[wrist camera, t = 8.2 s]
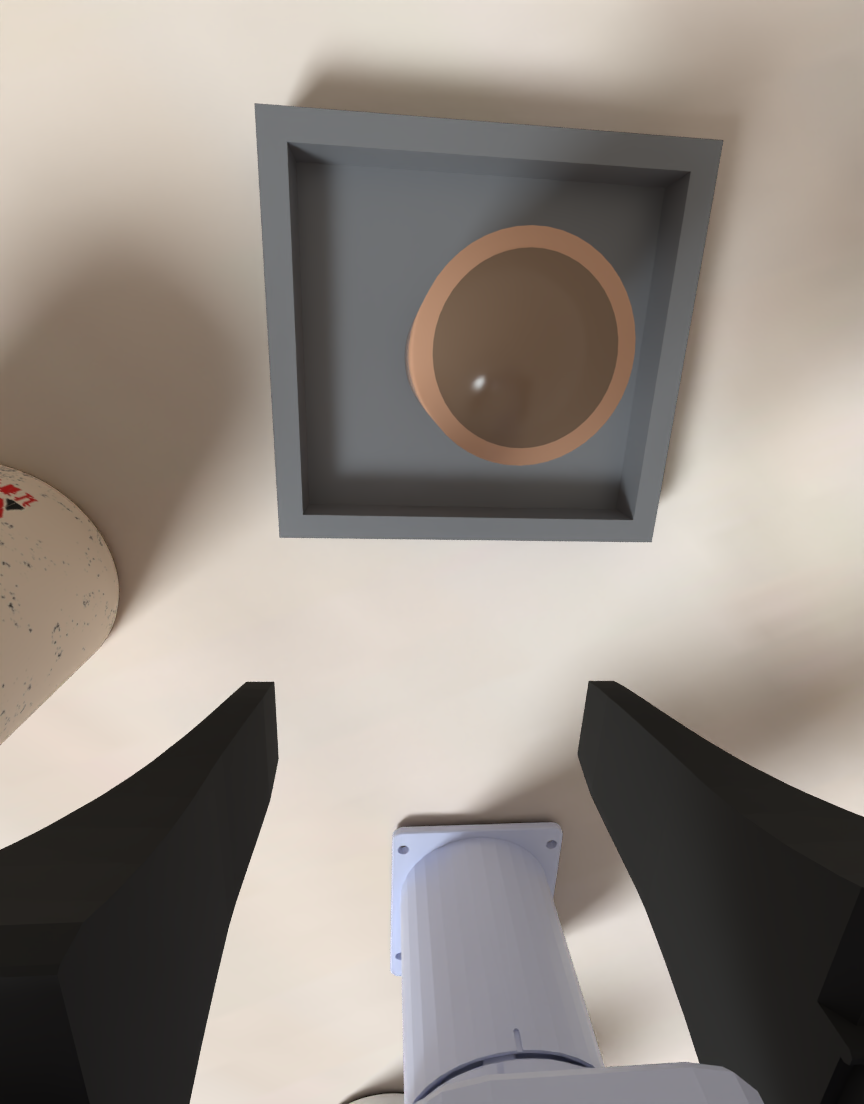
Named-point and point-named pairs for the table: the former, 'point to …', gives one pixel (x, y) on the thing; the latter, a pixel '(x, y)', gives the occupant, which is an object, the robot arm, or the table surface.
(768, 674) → the table surface
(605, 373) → the terracotta cup
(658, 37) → the table surface
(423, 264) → the charcoal tray
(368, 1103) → the pill bottle
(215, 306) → the table surface
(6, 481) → the teacup with lid
